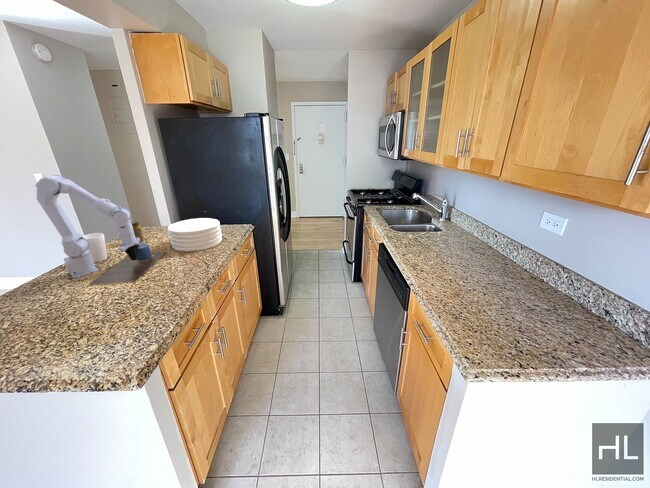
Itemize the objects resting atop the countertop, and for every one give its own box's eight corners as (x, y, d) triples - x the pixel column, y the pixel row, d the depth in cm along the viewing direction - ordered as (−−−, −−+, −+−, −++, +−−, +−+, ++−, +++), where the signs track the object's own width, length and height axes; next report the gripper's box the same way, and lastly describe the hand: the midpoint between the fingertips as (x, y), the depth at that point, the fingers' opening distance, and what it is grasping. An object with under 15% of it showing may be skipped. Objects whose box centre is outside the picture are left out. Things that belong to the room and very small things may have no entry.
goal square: (147, 261, 133) (147, 261, 133) (128, 262, 132) (128, 262, 132) (155, 254, 141) (155, 254, 141) (138, 255, 140) (138, 255, 140)
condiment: (144, 238, 164) (139, 220, 160) (145, 242, 158) (140, 223, 154) (130, 241, 160) (124, 222, 156) (131, 245, 154) (125, 226, 150)
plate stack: (231, 237, 168) (228, 219, 163) (201, 253, 143) (197, 234, 138) (195, 233, 175) (192, 216, 170) (160, 248, 150) (155, 229, 145)
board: (134, 282, 114) (134, 281, 114) (89, 284, 111) (89, 284, 111) (166, 253, 143) (165, 252, 143) (130, 255, 141) (130, 254, 141)
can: (141, 261, 133) (138, 249, 130) (134, 258, 136) (130, 247, 133) (154, 256, 138) (151, 245, 136) (147, 254, 141) (144, 243, 139)
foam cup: (108, 254, 142) (101, 231, 137) (113, 258, 136) (105, 235, 131) (86, 259, 135) (77, 236, 130) (90, 264, 129) (81, 240, 125)
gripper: (127, 238, 118) (135, 265, 123) (143, 229, 131) (150, 253, 136) (110, 239, 117) (119, 266, 122) (128, 229, 131) (135, 254, 135)
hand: (134, 259), depth 129 cm, fingers closed
